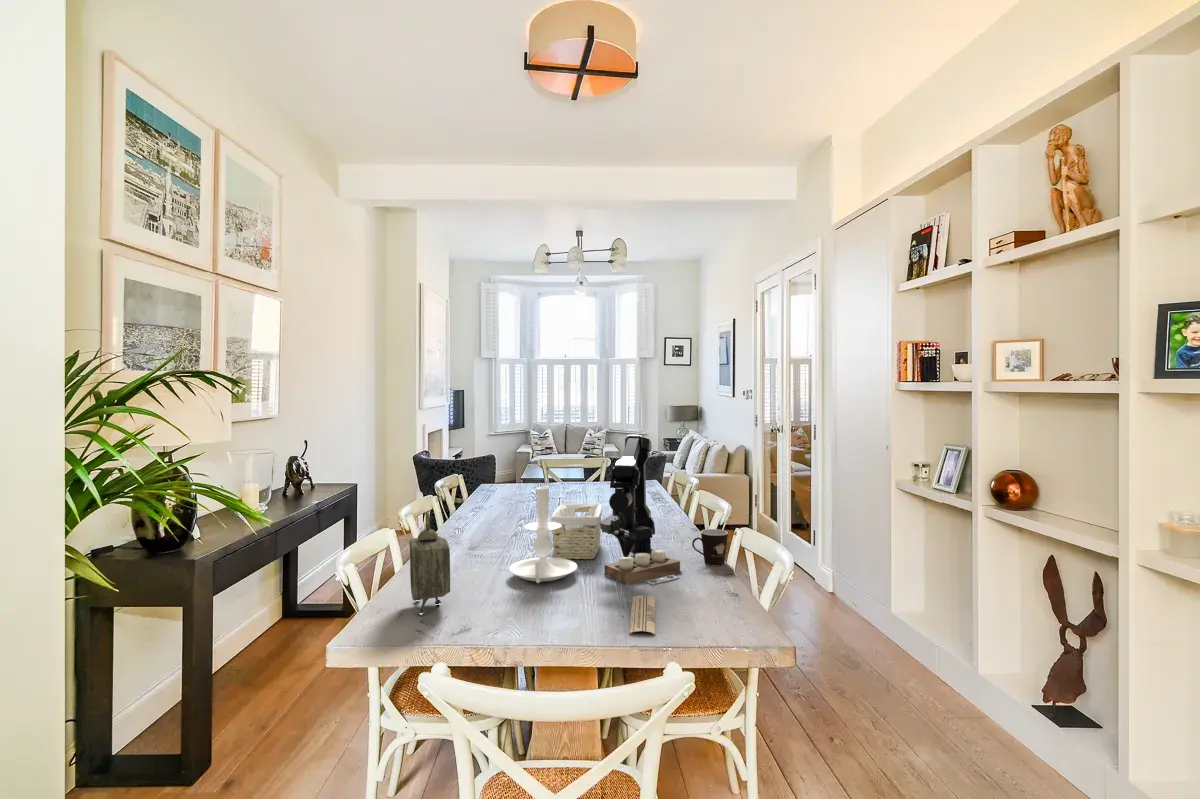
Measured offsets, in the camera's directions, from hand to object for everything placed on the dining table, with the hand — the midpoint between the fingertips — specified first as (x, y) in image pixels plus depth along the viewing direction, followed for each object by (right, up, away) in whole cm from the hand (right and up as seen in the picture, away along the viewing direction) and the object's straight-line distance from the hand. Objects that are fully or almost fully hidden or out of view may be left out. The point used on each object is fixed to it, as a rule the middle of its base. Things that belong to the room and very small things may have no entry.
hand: (625, 556), depth 182 cm
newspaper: (+3, -8, -31) cm, 32 cm away
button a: (0, -4, 0) cm, 4 cm away
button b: (+5, -4, +4) cm, 8 cm away
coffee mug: (+28, -6, +14) cm, 32 cm away
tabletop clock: (-52, -7, -24) cm, 58 cm away
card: (+11, -6, -3) cm, 13 cm away
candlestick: (-25, -7, -2) cm, 26 cm away
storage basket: (-15, -6, +29) cm, 33 cm away
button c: (+11, -4, +8) cm, 14 cm away
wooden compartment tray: (+5, -6, +4) cm, 9 cm away
